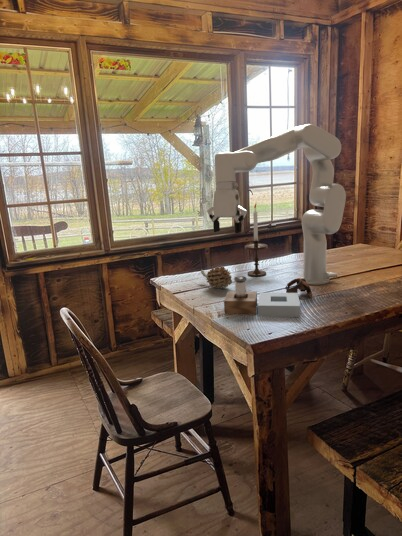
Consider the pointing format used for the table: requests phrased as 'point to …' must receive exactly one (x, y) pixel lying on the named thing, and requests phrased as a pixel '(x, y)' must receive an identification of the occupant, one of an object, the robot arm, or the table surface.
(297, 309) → the socket block
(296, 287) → the cracked clay ring
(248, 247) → the candlestick
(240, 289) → the lock pin
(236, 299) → the mount block
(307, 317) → the table surface
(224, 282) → the pine cone
